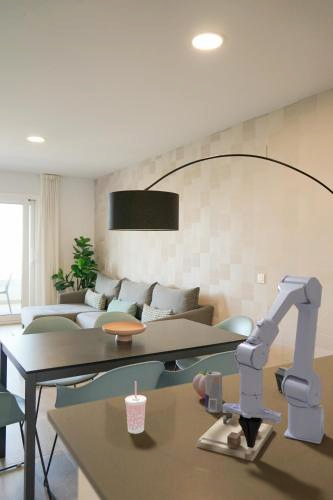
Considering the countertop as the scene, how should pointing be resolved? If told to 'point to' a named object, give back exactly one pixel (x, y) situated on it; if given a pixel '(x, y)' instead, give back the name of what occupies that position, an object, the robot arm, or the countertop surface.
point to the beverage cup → (135, 412)
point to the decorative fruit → (200, 383)
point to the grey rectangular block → (228, 415)
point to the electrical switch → (280, 376)
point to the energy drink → (213, 391)
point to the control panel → (223, 427)
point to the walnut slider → (234, 440)
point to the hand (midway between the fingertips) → (251, 446)
